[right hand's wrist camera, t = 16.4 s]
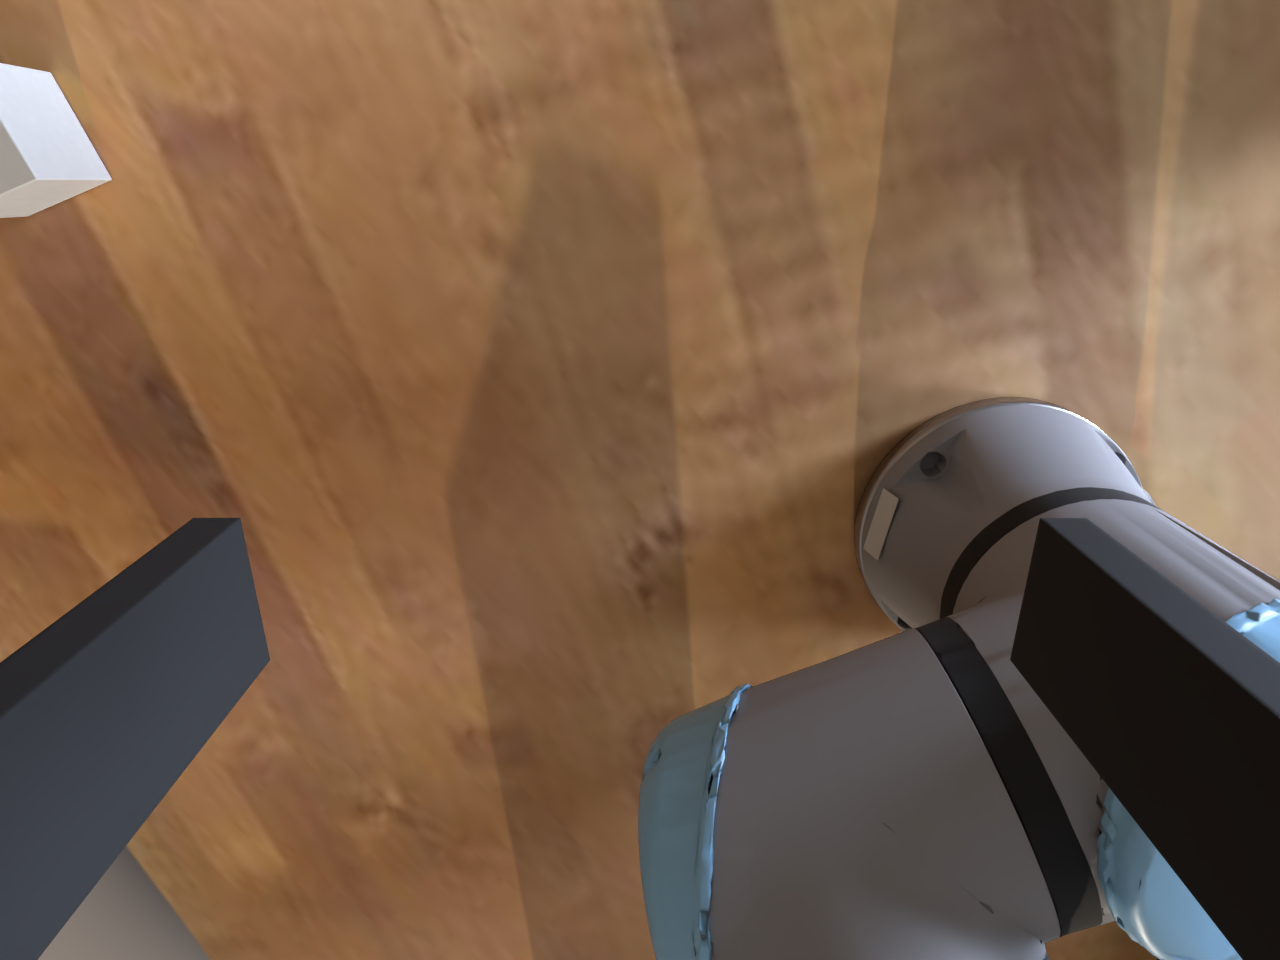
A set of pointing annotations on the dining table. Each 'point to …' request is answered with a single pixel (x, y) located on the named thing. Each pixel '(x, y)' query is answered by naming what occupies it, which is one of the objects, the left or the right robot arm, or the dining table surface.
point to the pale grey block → (41, 145)
